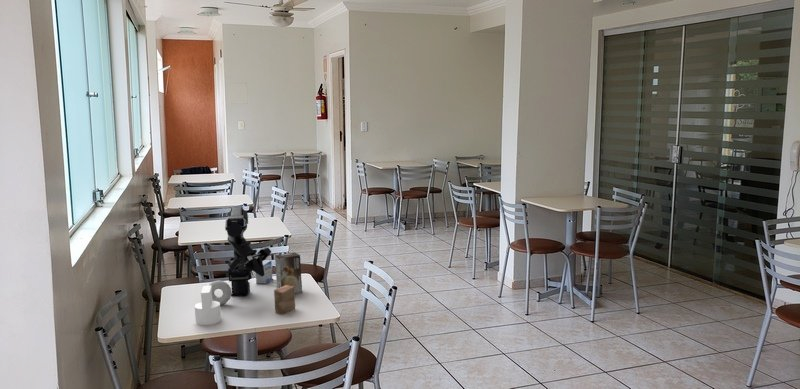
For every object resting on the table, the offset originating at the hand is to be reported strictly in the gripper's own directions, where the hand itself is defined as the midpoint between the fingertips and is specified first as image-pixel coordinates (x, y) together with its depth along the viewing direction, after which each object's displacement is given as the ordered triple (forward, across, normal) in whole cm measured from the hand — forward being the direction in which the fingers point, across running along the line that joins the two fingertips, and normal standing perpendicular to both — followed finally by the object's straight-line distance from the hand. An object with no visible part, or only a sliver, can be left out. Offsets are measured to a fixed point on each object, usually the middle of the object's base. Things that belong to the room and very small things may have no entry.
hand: (263, 275), depth 240 cm
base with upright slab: (+3, +21, -15) cm, 26 cm away
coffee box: (+7, -19, -11) cm, 23 cm away
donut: (-4, +6, -22) cm, 23 cm away
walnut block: (+16, 0, -2) cm, 16 cm away
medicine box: (-7, -26, -26) cm, 37 cm away
